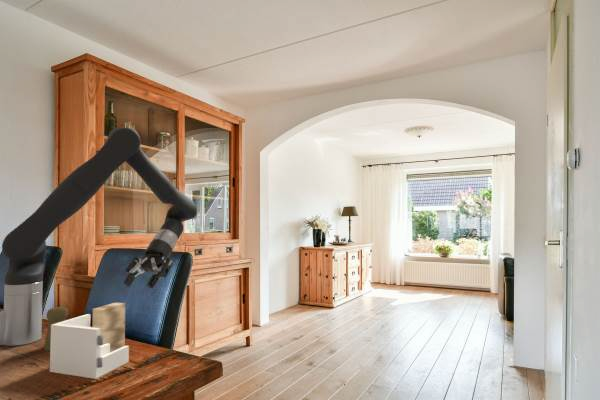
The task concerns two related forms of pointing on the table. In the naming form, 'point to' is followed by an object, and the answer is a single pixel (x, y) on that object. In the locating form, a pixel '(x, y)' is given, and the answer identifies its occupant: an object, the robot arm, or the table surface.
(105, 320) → the block
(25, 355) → the table surface
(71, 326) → the white open box
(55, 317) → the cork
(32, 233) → the robot arm
